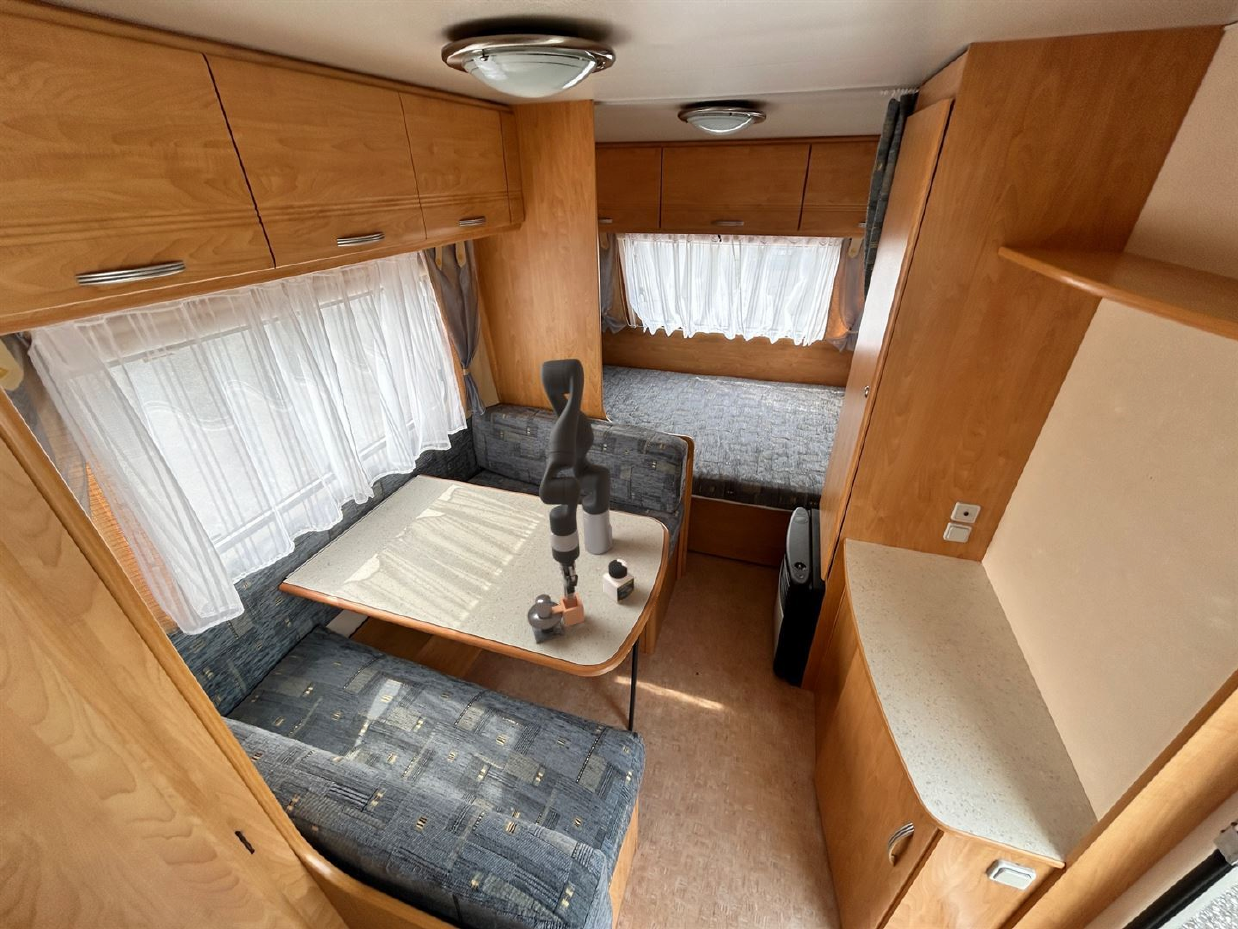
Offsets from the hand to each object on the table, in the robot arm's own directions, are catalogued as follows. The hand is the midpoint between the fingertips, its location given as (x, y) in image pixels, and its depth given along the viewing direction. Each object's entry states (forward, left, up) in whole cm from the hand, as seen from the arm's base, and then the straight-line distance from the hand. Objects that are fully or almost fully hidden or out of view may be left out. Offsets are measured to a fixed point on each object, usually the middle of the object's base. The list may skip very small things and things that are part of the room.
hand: (569, 588), depth 147 cm
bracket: (+1, 0, -12) cm, 12 cm away
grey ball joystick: (+8, 0, -14) cm, 16 cm away
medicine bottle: (-17, -6, -14) cm, 23 cm away
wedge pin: (0, 0, -4) cm, 4 cm away
